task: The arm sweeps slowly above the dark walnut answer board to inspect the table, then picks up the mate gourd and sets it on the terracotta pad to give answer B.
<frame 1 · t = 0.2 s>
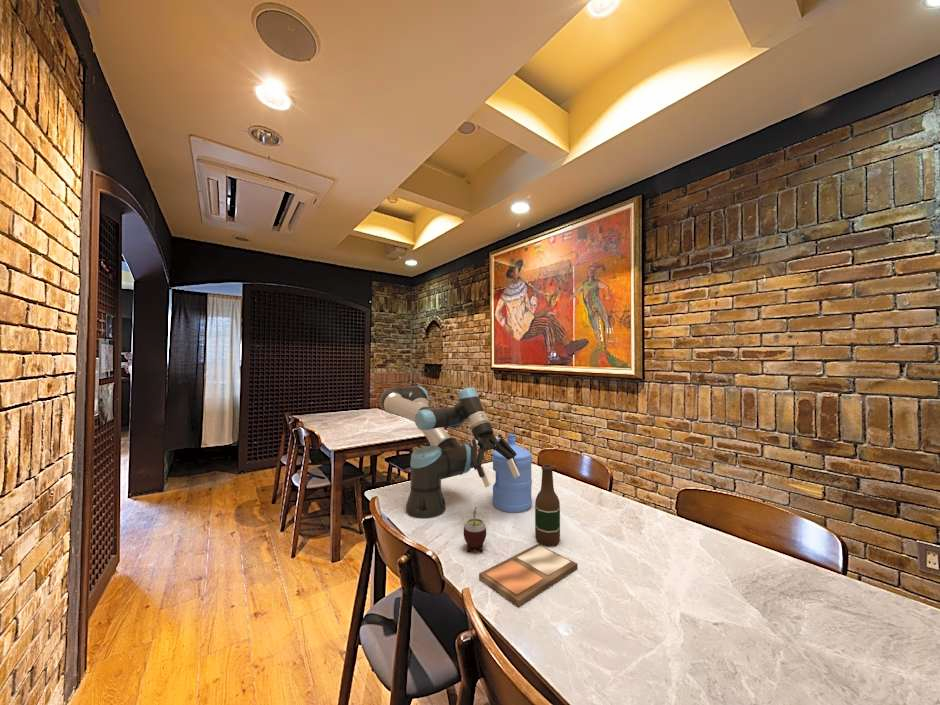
hand: (503, 481, 125), 16 cm above the table, tool tilted 35°, fingers open, 13 cm apart
water jug: (512, 505, 143), on the table
mate gourd: (475, 550, 110), on the table
answer board: (529, 574, 97), on the table
beer bottle: (547, 541, 115), on the table
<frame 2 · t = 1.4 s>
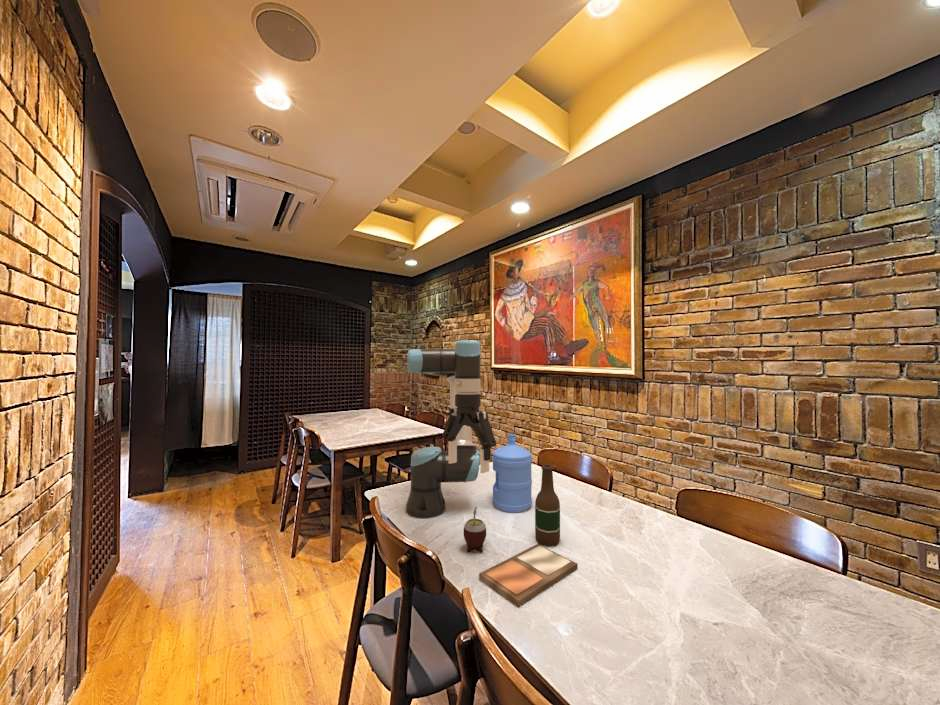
hand: (467, 467, 104), 27 cm above the table, tool pointing down, fingers open, 13 cm apart
nothing on the table moved.
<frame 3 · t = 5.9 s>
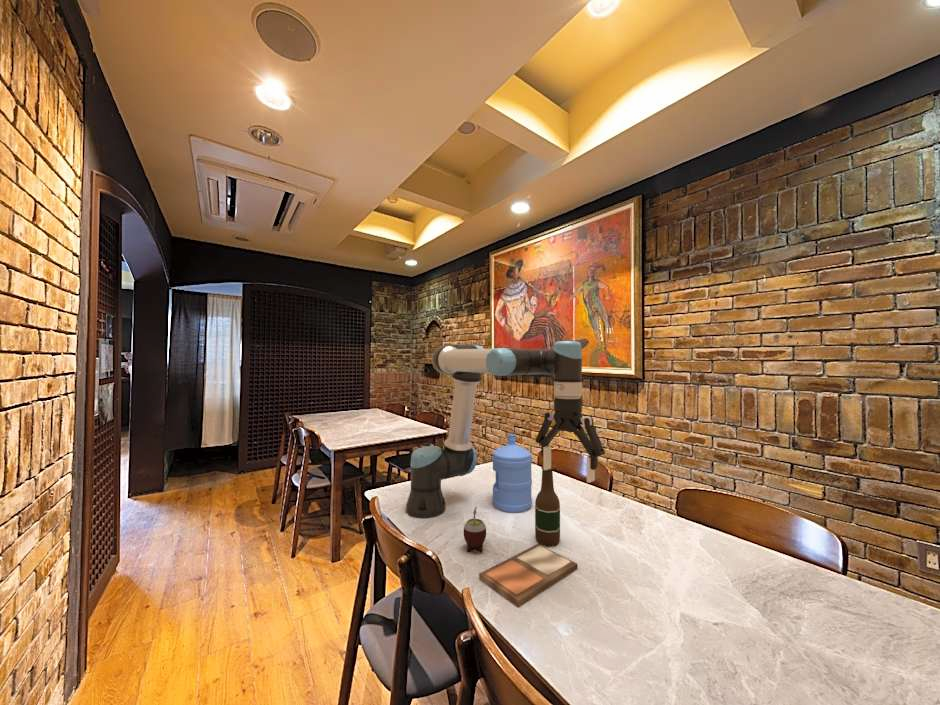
hand: (567, 475, 98), 26 cm above the table, tool pointing down, fingers open, 13 cm apart
nothing on the table moved.
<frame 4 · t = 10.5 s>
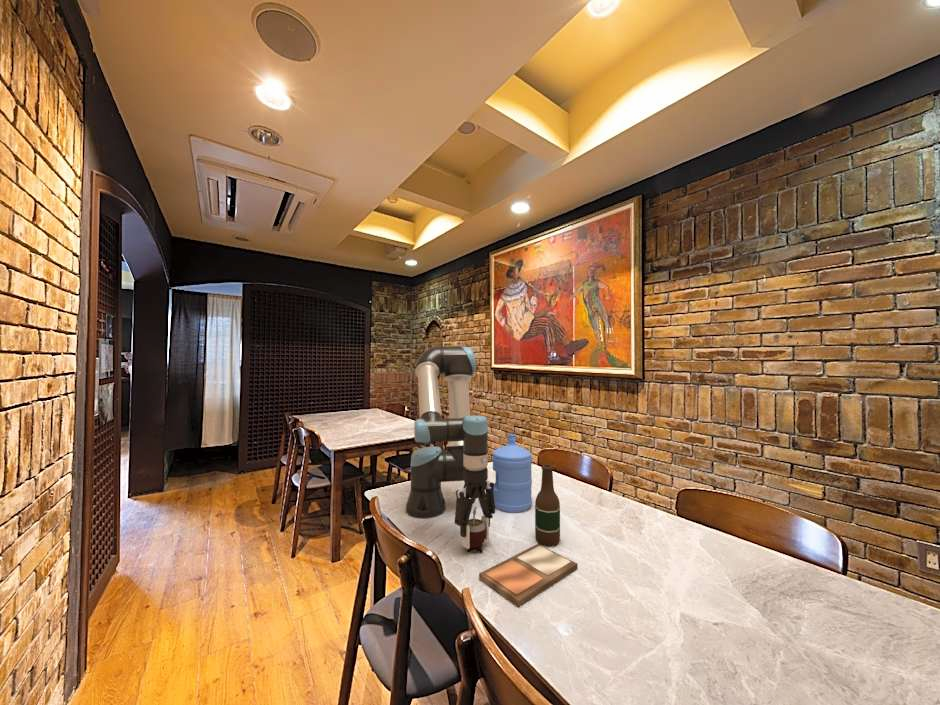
hand: (475, 542, 110), 2 cm above the table, tool pointing down, fingers closed on mate gourd, 7 cm apart
mate gourd: (475, 550, 110), on the table, touching gripper
everything else where it was.
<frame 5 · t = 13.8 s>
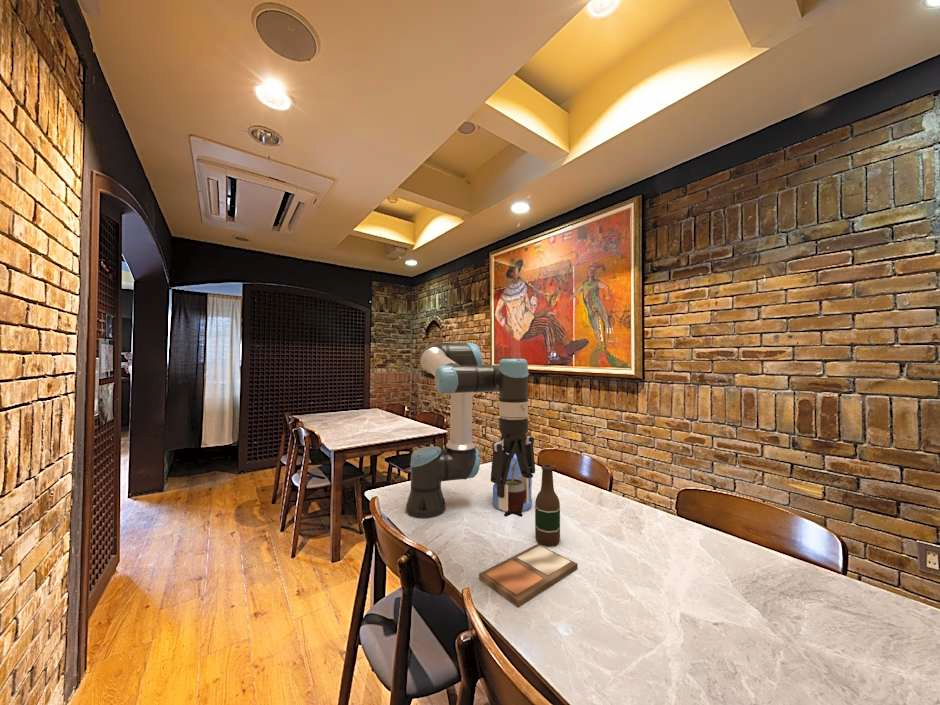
hand: (513, 505, 94), 20 cm above the table, tool pointing down, fingers closed on mate gourd, 7 cm apart
mate gourd: (513, 514, 94), point 18 cm above the table, touching gripper
everything else where it was.
when the fingers open (5 cm above the table, at t = 17.2 s): mate gourd drops 2 cm, resting on answer board.
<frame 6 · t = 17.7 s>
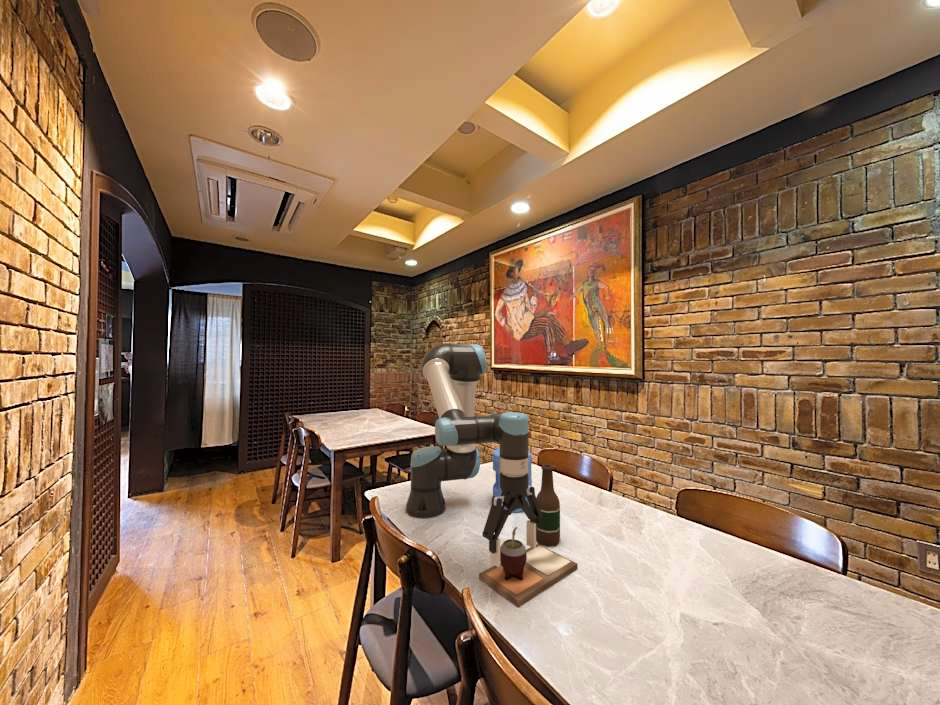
hand: (514, 555, 94), 7 cm above the table, tool pointing down, fingers open, 13 cm apart
mate gourd: (513, 576, 93), point 2 cm above the table, touching answer board
everything else where it was.
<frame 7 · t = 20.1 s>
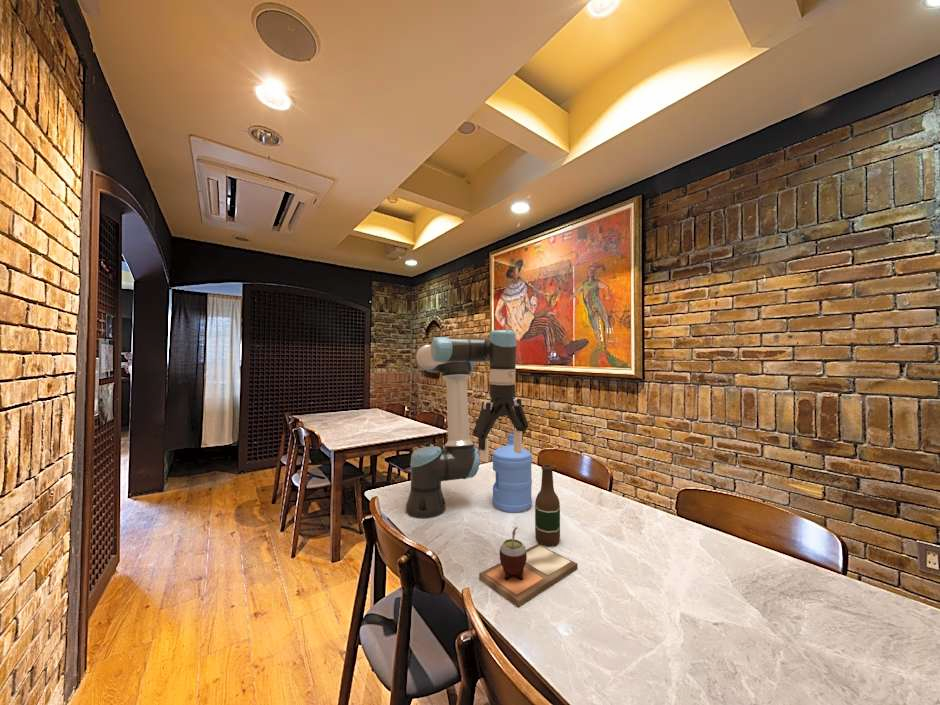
hand: (501, 456, 104), 30 cm above the table, tool pointing down, fingers open, 13 cm apart
nothing on the table moved.
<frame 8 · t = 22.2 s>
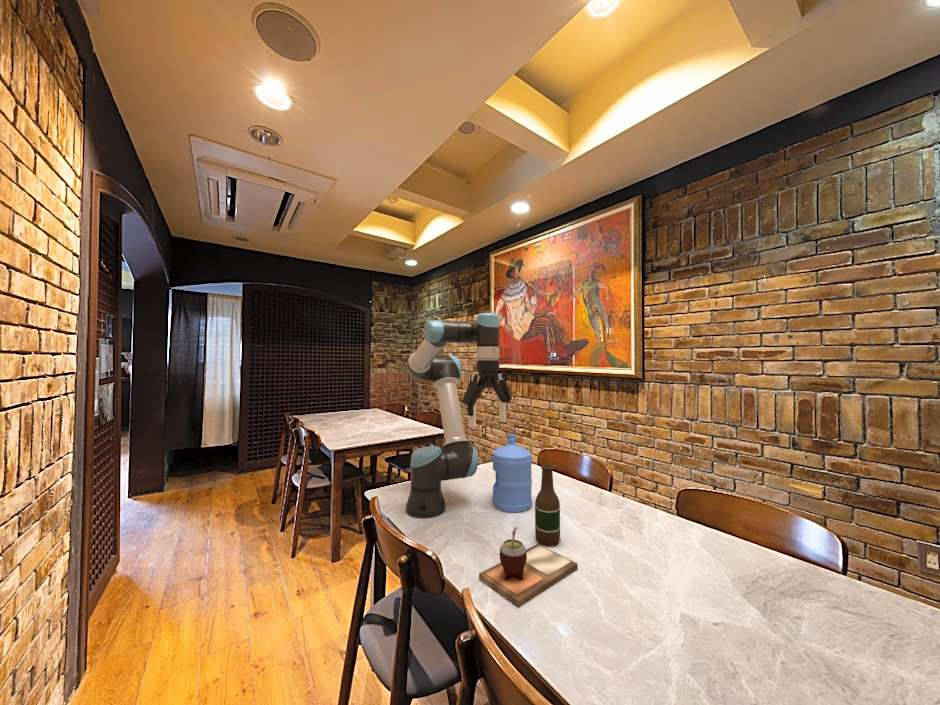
hand: (488, 423, 119), 37 cm above the table, tool pointing down, fingers open, 13 cm apart
nothing on the table moved.
at the end: mate gourd inside the target area on the answer board (0.1 cm from its centre), point 1.6 cm above the answer board's base; mate gourd tilted 0°; the gripper is holding nothing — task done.
